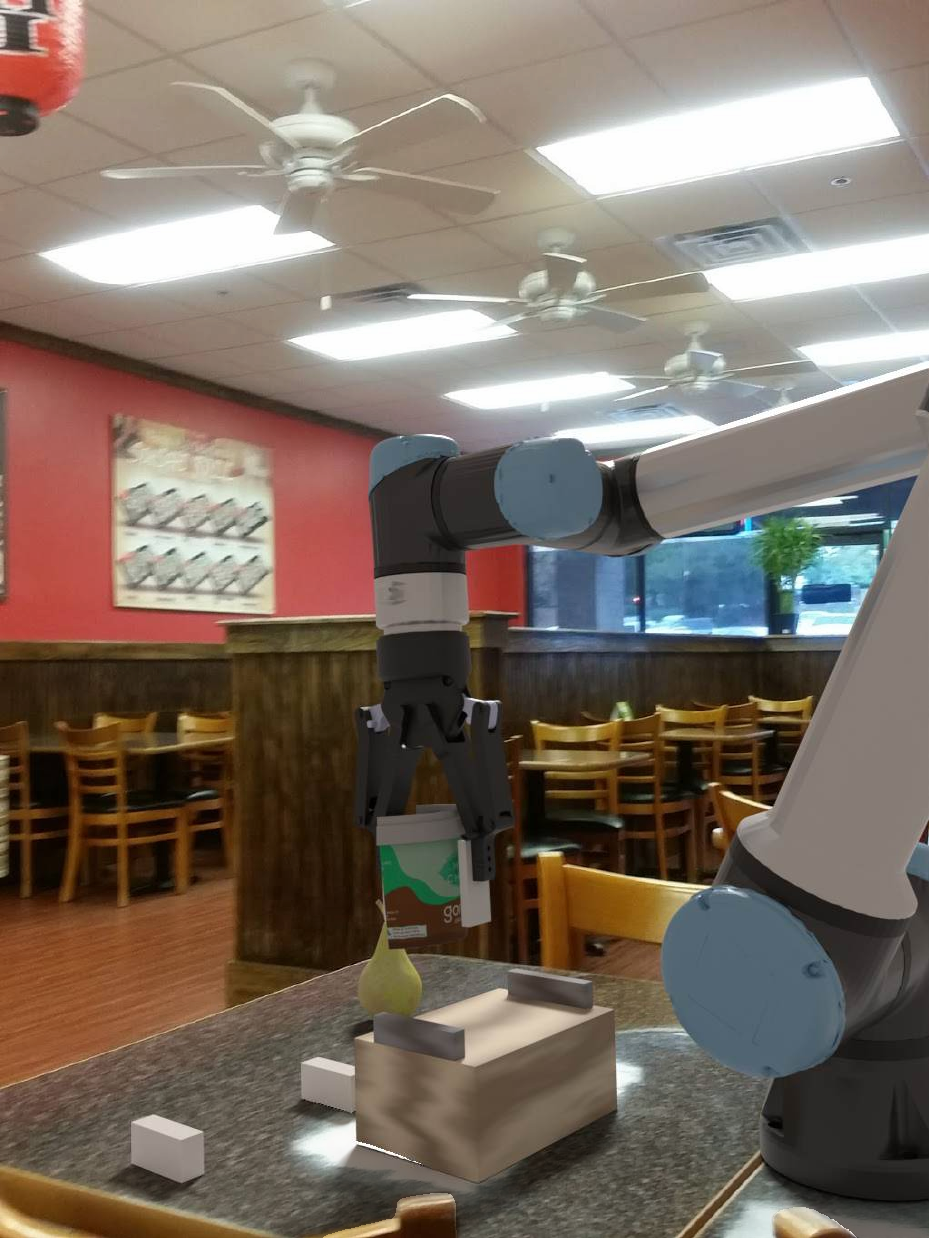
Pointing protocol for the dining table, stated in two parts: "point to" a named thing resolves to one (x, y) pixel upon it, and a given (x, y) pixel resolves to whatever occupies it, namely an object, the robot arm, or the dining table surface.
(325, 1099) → the pair of white blocks
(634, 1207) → the dining table surface
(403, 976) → the fruit
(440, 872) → the food container
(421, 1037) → the wooden stand
